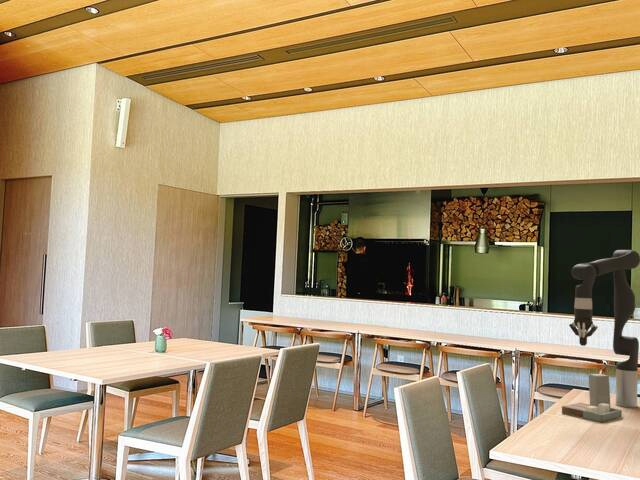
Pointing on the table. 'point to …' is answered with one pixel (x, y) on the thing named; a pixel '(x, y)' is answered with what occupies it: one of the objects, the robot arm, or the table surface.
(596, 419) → the tray
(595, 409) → the cream square block
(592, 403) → the skincare box
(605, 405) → the tile
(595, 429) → the table surface
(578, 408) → the walnut board
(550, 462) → the table surface
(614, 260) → the robot arm
